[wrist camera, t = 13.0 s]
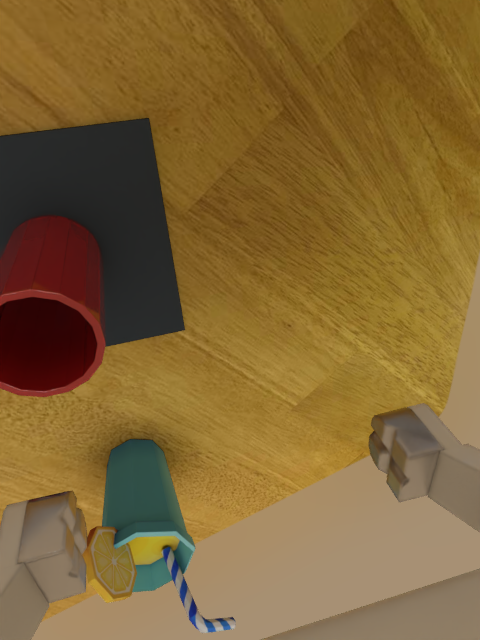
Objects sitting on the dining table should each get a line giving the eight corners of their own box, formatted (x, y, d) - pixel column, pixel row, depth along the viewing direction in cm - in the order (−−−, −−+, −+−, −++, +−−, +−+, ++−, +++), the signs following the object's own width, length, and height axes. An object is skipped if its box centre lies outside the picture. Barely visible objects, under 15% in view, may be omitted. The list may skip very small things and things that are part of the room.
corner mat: (-134, 152, 26) (-136, 153, 25) (148, 118, 29) (148, 118, 28) (-24, 371, 34) (-25, 374, 34) (184, 328, 37) (184, 330, 37)
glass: (-10, 223, 29) (-58, 305, 20) (89, 207, 30) (87, 279, 21) (23, 306, 32) (-6, 408, 23) (111, 289, 33) (116, 381, 24)
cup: (222, 457, 46) (268, 608, 34) (177, 505, 48) (204, 664, 36) (102, 407, 39) (105, 576, 27) (54, 466, 41) (36, 649, 29)
